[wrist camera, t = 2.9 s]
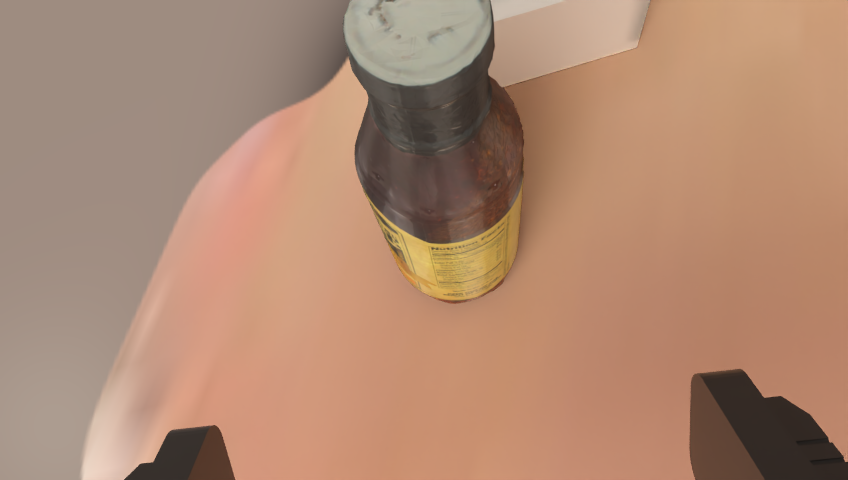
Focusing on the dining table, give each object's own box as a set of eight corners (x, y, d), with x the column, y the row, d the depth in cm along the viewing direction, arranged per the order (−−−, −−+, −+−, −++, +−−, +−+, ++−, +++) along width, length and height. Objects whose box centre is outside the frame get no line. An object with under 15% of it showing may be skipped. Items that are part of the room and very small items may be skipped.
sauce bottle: (402, 195, 39) (314, -94, 21) (519, 198, 38) (537, -99, 20) (391, 313, 37) (282, 107, 18) (516, 319, 36) (532, 109, 18)
